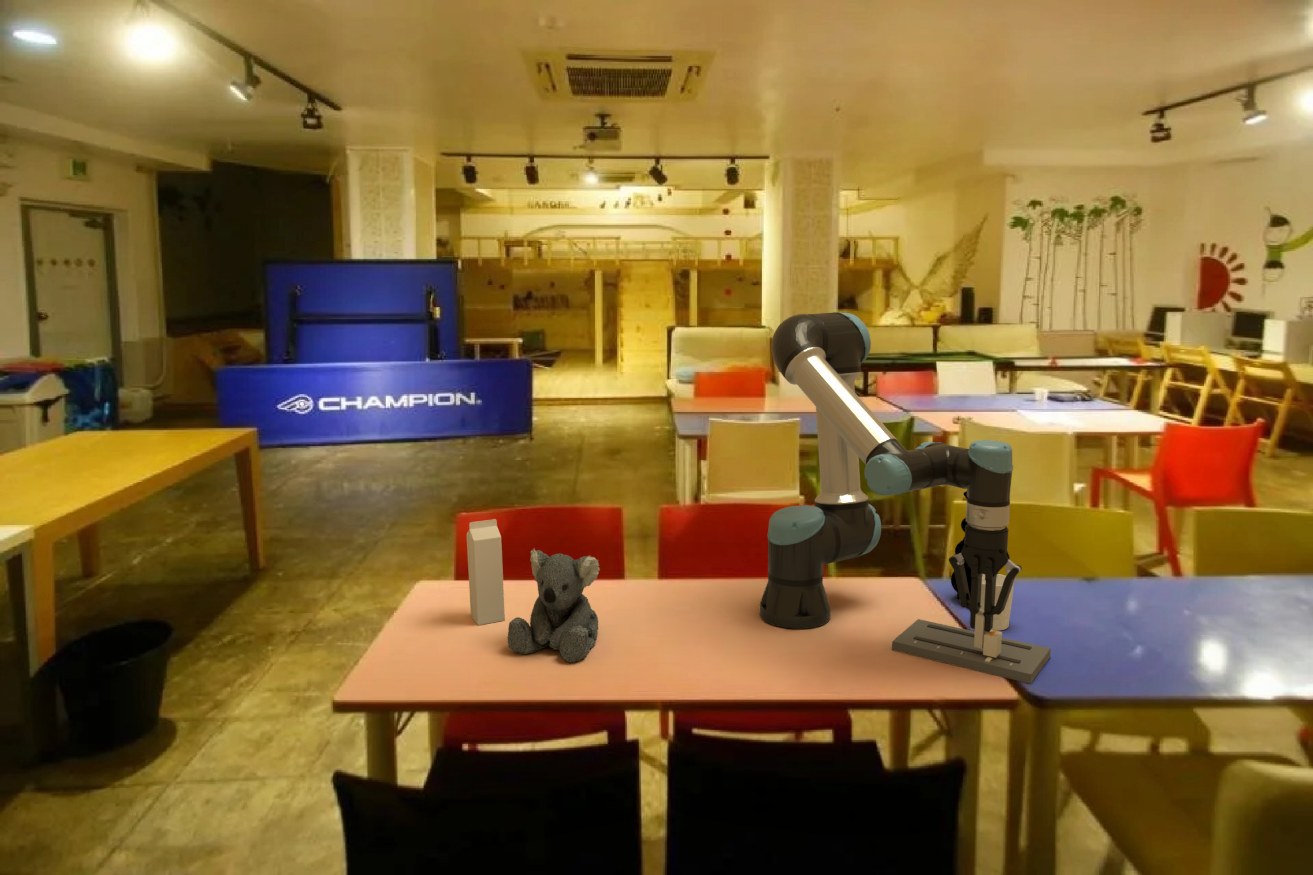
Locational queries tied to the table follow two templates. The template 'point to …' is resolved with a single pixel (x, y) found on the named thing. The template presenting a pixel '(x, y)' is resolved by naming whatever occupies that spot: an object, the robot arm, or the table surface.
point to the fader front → (992, 643)
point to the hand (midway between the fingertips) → (980, 645)
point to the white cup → (1002, 619)
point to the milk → (485, 572)
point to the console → (971, 651)
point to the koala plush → (558, 608)
